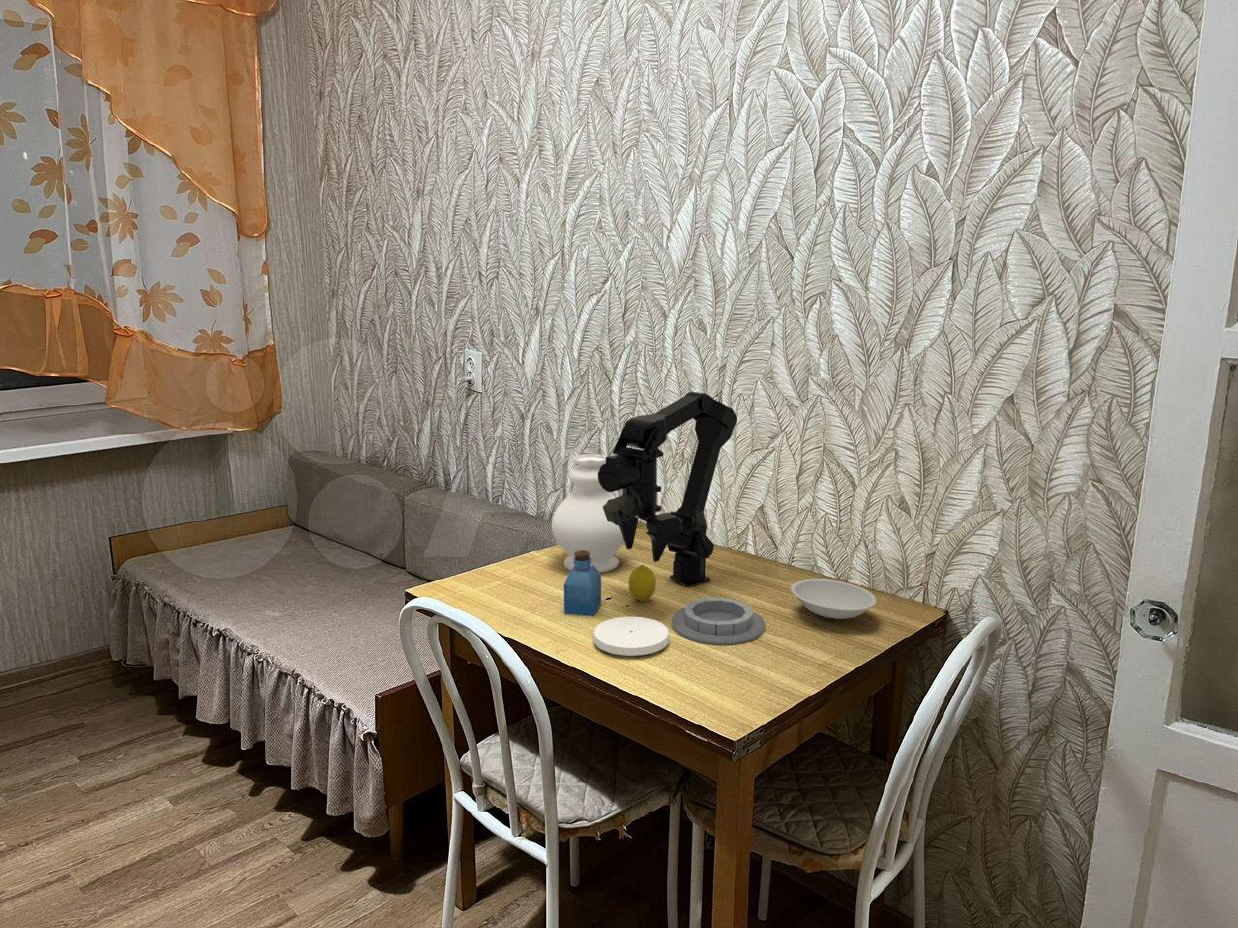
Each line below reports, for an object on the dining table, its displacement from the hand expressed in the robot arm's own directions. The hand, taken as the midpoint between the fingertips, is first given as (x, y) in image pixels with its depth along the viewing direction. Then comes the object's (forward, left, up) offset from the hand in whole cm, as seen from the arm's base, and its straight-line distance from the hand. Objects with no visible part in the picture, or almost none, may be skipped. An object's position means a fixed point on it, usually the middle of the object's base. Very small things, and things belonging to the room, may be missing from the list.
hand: (642, 555), depth 193 cm
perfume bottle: (+12, -4, -10) cm, 16 cm away
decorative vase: (-4, -25, -10) cm, 27 cm away
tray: (-5, +18, -10) cm, 21 cm away
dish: (-26, +28, -10) cm, 40 cm away
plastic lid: (+14, +15, -11) cm, 23 cm away
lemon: (0, 0, -10) cm, 10 cm away
